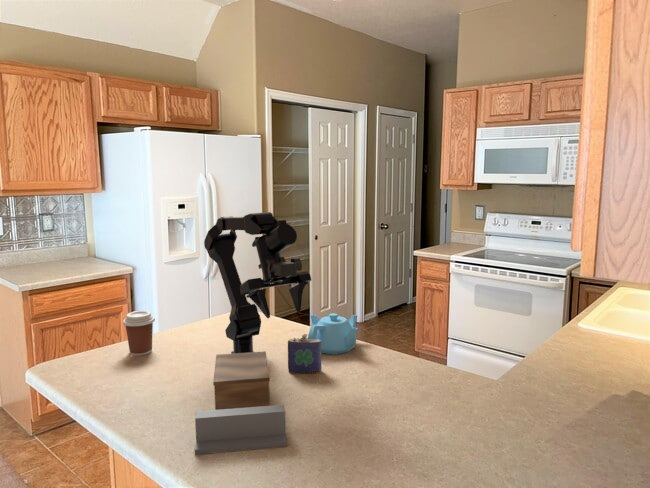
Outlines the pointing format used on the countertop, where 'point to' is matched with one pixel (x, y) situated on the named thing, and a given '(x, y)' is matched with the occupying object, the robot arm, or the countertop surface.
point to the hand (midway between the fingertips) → (284, 314)
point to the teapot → (334, 333)
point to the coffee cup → (139, 332)
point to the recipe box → (241, 380)
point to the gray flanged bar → (240, 429)
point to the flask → (304, 355)
